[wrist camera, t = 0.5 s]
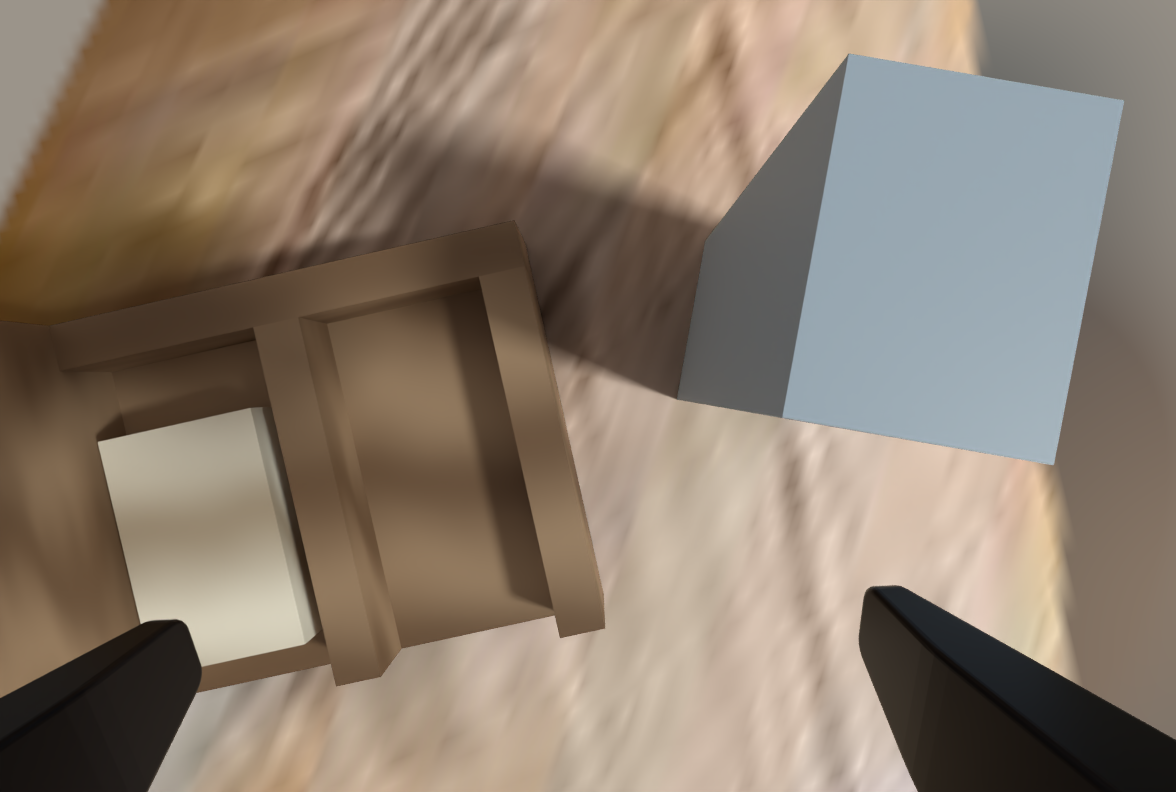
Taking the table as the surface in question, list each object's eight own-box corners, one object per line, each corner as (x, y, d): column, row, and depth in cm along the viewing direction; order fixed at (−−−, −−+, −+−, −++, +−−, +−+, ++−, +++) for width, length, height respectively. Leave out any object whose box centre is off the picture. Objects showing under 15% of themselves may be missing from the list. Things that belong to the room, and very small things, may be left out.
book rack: (603, 594, 22) (611, 776, 12) (168, 688, 22) (-194, 946, 12) (525, 243, 21) (464, 118, 11) (86, 342, 22) (-354, 305, 12)
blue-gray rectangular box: (795, 420, 21) (1052, 465, 9) (676, 399, 21) (782, 417, 9) (824, 261, 21) (1123, 101, 9) (705, 240, 21) (848, 54, 9)
